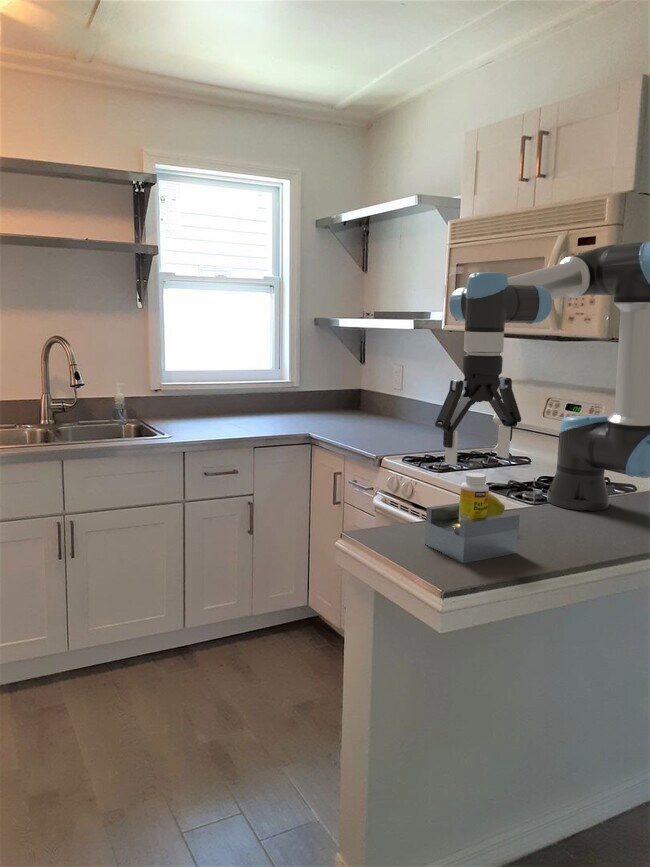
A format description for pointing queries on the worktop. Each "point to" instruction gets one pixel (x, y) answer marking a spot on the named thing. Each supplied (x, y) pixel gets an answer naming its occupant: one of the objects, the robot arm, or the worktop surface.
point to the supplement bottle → (473, 497)
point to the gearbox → (470, 534)
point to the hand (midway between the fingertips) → (477, 460)
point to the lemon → (494, 506)
